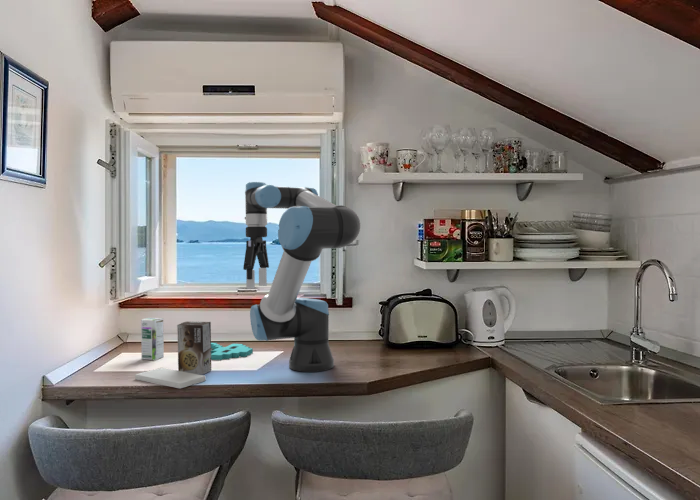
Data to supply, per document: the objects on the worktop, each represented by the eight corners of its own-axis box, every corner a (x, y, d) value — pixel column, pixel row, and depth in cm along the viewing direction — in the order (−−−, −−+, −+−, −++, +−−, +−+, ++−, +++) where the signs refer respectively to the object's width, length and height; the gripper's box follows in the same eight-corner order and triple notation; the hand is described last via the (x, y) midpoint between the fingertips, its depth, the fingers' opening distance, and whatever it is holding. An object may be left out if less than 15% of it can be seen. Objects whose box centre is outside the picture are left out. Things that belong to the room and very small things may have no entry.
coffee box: (212, 369, 179) (211, 321, 178) (203, 374, 173) (203, 324, 172) (186, 368, 180) (186, 320, 180) (177, 373, 174) (176, 324, 174)
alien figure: (187, 359, 196) (238, 362, 192) (187, 353, 196) (238, 356, 192) (211, 348, 215) (259, 350, 211) (211, 342, 215) (259, 344, 211)
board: (205, 380, 166) (205, 375, 166) (180, 388, 157) (179, 383, 157) (161, 372, 176) (161, 367, 176) (135, 379, 167) (135, 374, 167)
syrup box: (140, 359, 194) (140, 319, 194) (151, 355, 200) (150, 317, 199) (154, 360, 192) (154, 320, 192) (164, 356, 198) (164, 317, 198)
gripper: (258, 226, 204) (258, 284, 204) (233, 225, 180) (233, 290, 181) (277, 226, 202) (277, 284, 203) (254, 225, 179) (255, 290, 179)
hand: (256, 287), depth 192 cm, fingers open, 12 cm apart
